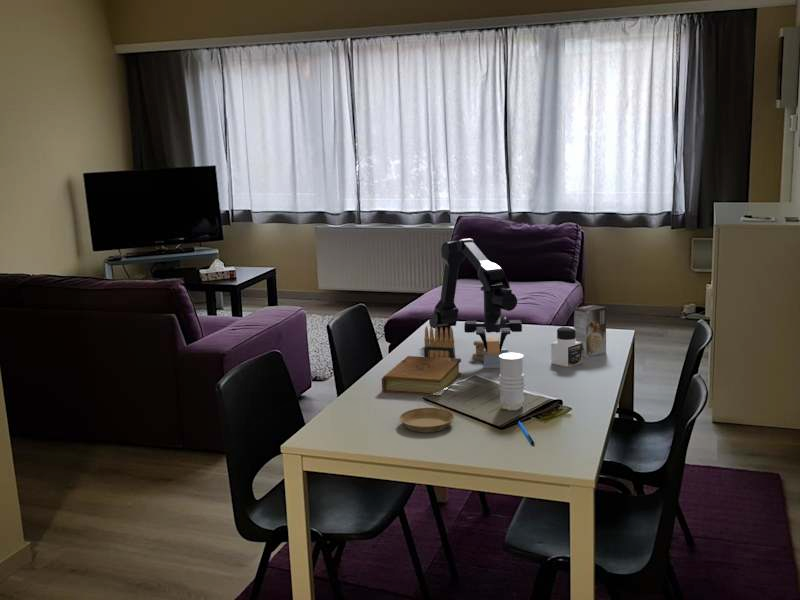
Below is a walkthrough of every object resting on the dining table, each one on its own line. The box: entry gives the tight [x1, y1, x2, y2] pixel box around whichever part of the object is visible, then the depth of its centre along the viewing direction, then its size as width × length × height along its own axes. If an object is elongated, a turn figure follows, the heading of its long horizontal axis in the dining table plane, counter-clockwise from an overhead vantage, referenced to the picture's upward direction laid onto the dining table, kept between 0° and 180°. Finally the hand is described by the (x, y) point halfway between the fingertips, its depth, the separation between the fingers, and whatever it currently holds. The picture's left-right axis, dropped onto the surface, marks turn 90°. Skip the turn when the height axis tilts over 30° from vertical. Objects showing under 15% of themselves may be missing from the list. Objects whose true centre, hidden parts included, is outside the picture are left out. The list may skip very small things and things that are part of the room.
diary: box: [381, 355, 462, 396], centre depth 266 cm, size 23×19×6 cm
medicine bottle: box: [550, 326, 583, 368], centre depth 280 cm, size 7×7×12 cm
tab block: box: [486, 337, 500, 355], centre depth 282 cm, size 4×4×5 cm
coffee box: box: [573, 304, 607, 358], centre depth 290 cm, size 9×6×16 cm
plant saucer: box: [399, 407, 455, 433], centre depth 229 cm, size 15×15×3 cm
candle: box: [498, 352, 525, 404], centre depth 239 cm, size 7×7×15 cm
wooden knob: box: [471, 339, 485, 361], centre depth 291 cm, size 6×6×6 cm
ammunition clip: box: [423, 325, 456, 358], centre depth 289 cm, size 11×2×12 cm, turn 70°
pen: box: [517, 420, 535, 447], centre depth 220 cm, size 1×19×1 cm, turn 4°
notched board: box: [483, 348, 509, 369], centre depth 283 cm, size 9×8×4 cm
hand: (493, 351), depth 283 cm, fingers closed on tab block, 4 cm apart
